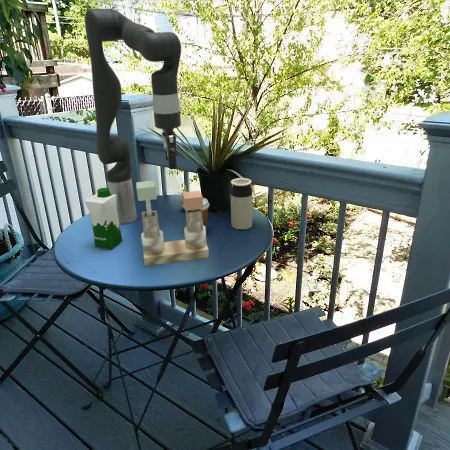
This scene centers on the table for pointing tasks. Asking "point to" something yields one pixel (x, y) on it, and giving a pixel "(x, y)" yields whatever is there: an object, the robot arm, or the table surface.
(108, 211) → the milk carton
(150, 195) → the sage plunger
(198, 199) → the terracotta plunger
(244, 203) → the travel mug
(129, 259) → the table surface
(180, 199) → the cupcake
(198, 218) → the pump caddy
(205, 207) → the disposable coffee cup
